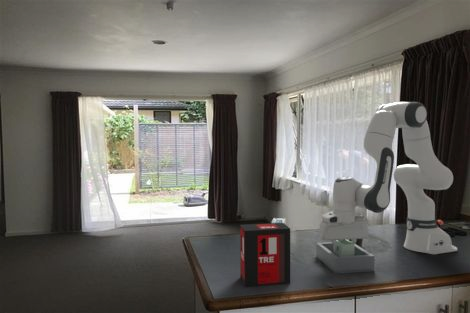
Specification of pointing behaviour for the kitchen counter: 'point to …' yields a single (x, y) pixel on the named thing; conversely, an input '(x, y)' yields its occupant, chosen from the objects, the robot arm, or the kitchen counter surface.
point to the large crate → (345, 259)
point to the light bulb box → (279, 220)
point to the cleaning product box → (264, 254)
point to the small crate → (344, 248)
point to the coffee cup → (358, 242)
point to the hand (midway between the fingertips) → (343, 249)
